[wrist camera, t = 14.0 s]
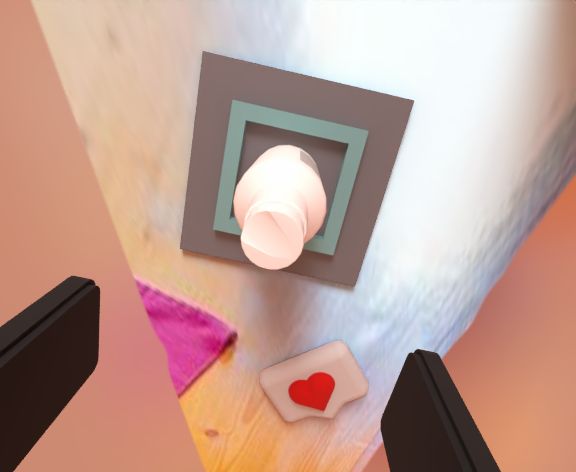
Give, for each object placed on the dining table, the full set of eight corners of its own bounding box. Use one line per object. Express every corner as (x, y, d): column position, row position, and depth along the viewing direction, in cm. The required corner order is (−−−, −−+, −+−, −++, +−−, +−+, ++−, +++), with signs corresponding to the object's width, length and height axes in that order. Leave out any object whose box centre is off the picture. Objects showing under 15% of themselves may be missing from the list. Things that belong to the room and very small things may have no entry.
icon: (291, 448, 44) (252, 392, 41) (292, 420, 48) (256, 367, 46) (381, 417, 42) (346, 355, 39) (375, 390, 46) (342, 332, 43)
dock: (411, 100, 33) (417, 100, 32) (353, 283, 40) (356, 290, 39) (205, 52, 33) (199, 49, 31) (182, 246, 40) (176, 252, 38)
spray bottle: (287, 223, 37) (276, 318, 20) (238, 180, 36) (183, 243, 19) (333, 177, 35) (363, 239, 18) (283, 129, 34) (267, 148, 17)
